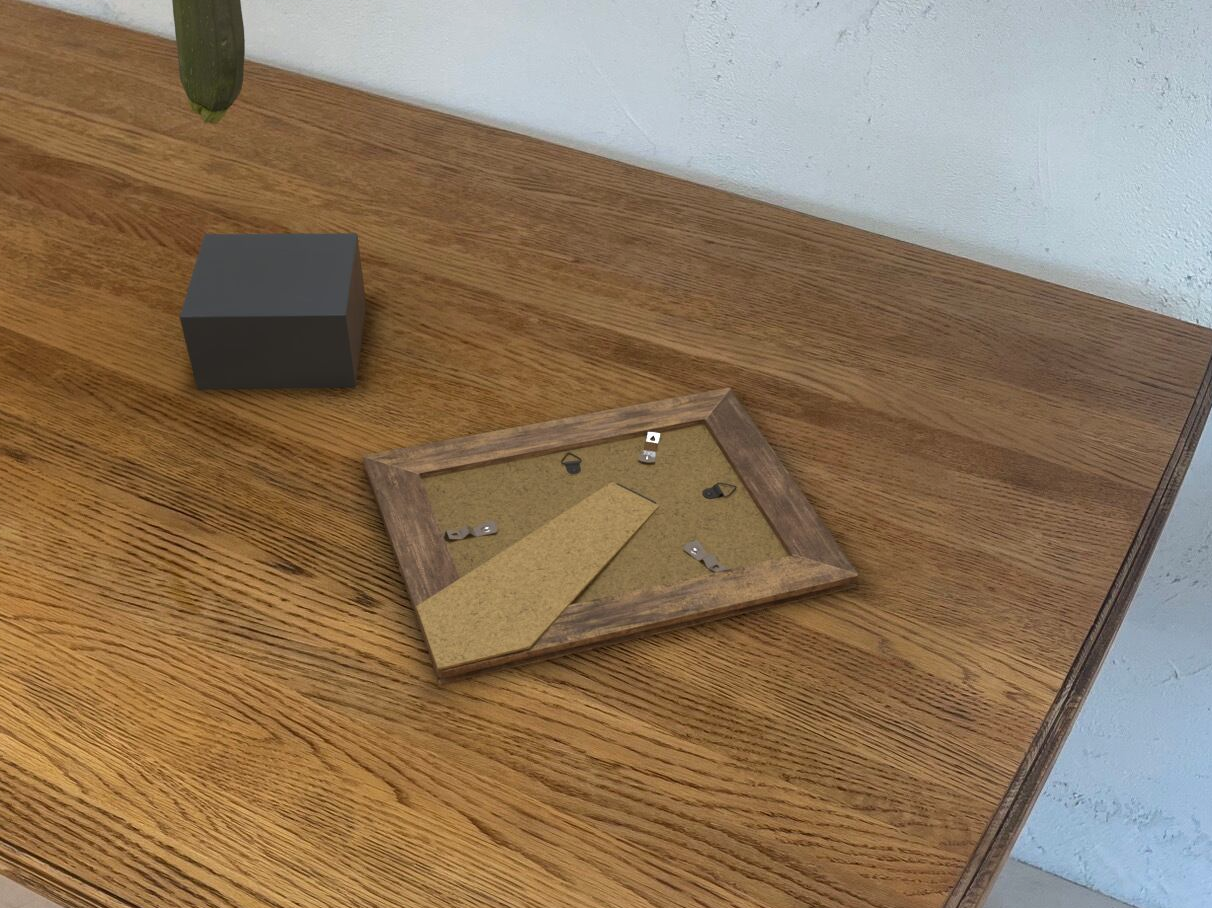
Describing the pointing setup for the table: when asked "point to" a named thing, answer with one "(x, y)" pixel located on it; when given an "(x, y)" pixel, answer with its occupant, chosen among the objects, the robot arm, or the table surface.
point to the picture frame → (597, 531)
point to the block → (275, 311)
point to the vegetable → (210, 54)
